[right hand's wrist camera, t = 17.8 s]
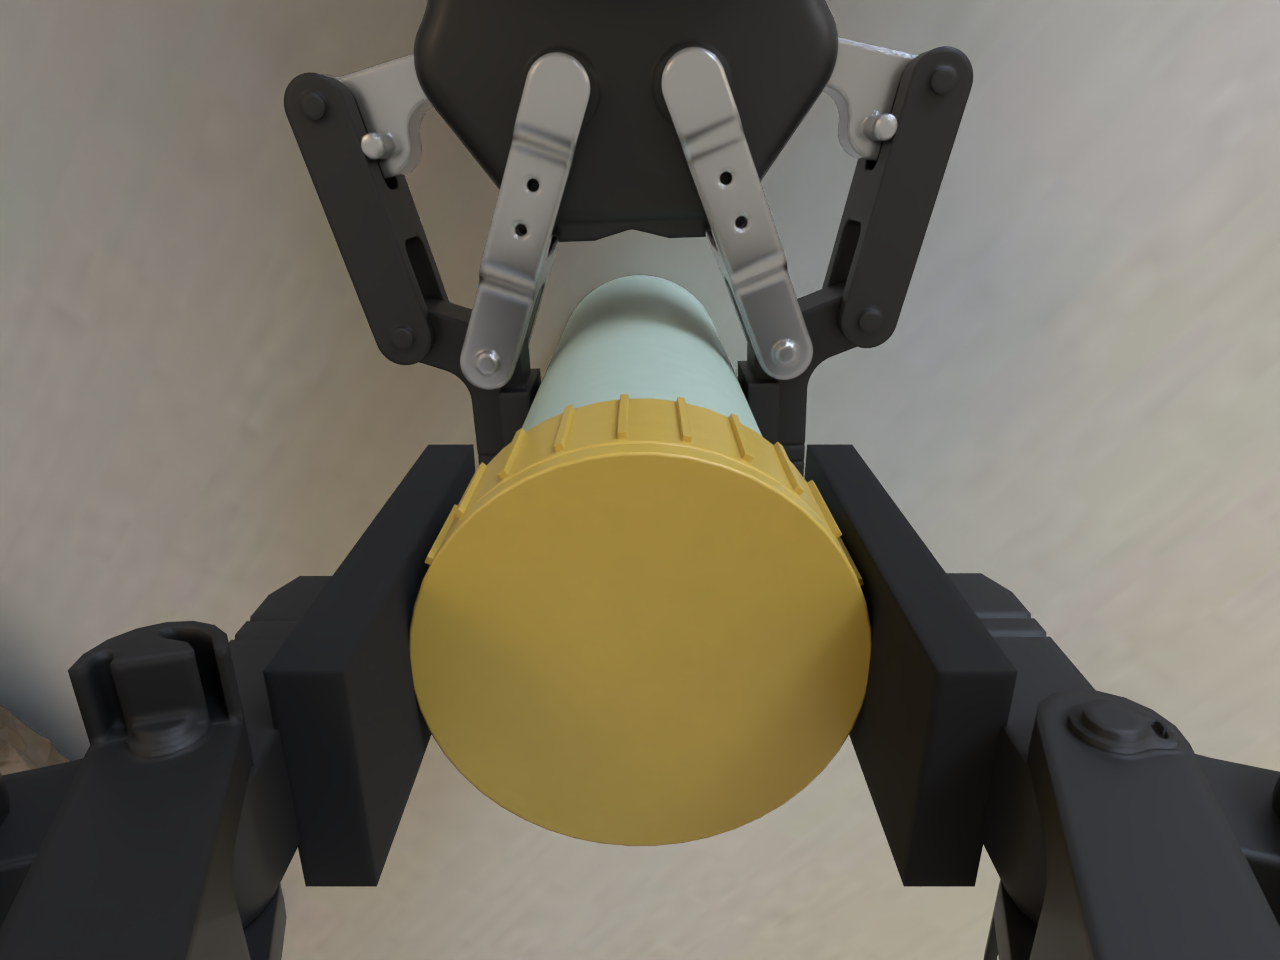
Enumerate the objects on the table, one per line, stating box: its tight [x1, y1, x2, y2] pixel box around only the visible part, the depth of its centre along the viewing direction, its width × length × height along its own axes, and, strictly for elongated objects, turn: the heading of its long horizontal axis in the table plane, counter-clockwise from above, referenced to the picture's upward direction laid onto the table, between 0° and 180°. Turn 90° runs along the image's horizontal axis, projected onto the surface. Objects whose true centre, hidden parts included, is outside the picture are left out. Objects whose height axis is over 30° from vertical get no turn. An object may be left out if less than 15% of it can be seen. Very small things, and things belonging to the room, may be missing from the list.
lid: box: [409, 394, 872, 846], centre depth 11 cm, size 6×6×2 cm
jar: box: [522, 275, 762, 436], centre depth 18 cm, size 5×5×17 cm
